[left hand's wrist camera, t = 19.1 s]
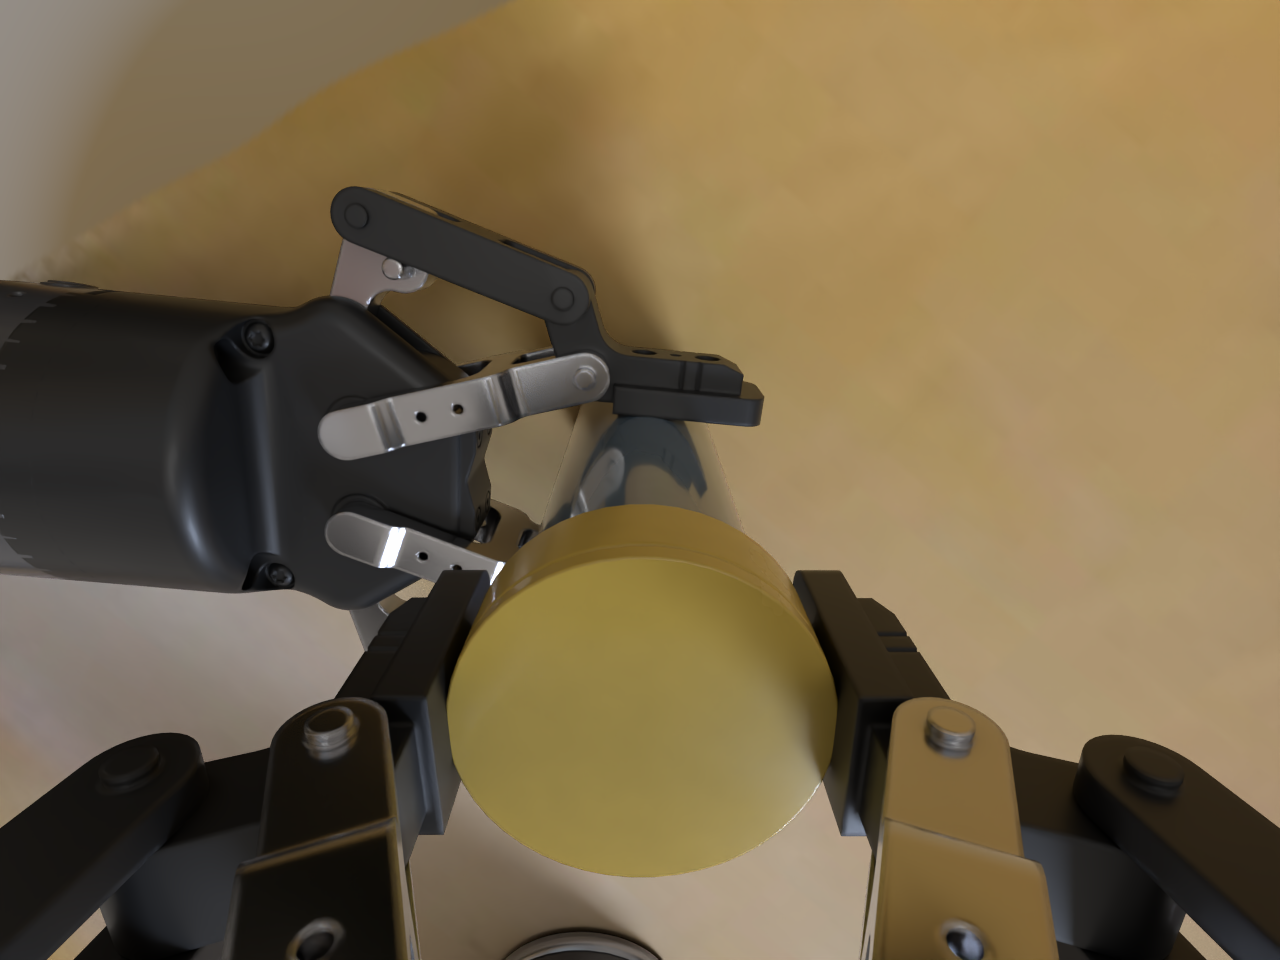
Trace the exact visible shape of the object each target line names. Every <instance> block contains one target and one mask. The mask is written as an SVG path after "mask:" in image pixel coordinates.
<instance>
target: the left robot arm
mask: <svg viewBox="0 0 1280 960" xmlns="http://www.w3.org/2000/svg"><path fill="white" fill-rule="evenodd" d="M490 585H491V584H490V577H489V574H488V572H487V570H444V571H442V573H441V574H440V576H439V578H438V580H437V581H436V583H435V585H434V587H433V588H432V590H431V592H430V594H429V595H428V597H427V598H411V599H409V600H408V601H406V602H405V603H404V604H402V605H401V606H399V607H398V608H396V609H395V610H394V611H392V612H391V613H389V615H388V617H387V618H386V620H385V621H384V623H383V624H382V626H381V627H380V629H379V630H378V635H377V636H375V637H374V638H373V640H372V641H371V643H370V644H369V646H368V650H367V651H365V652H364V654H363V655H362V657H361V658H360V660H359V661H358V663H357V664H356V666H355V667H354V669H353V671H352V672H351V674H350V675H349V677H348V678H347V680H346V681H345V683H344V684H343V686H342V687H341V689H340V691H339V692H338V694H337V695H336V697H335V698H334V699H331V700H328V701H324V702H321V703H318V704H315V705H313V706H310V707H308V708H306V709H304V710H302V711H301V712H299V713H297V714H296V715H294V716H293V717H291V718H290V719H289V720H287V721H286V722H285V723H284V724H283V725H282V726H281V727H280V728H279V730H278V731H277V732H276V734H275V735H274V737H273V739H272V742H271V746H270V748H267V749H263V750H259V751H255V752H251V753H246V754H242V755H237V756H232V757H228V758H223V759H219V760H214V761H210V762H205V763H204V760H203V757H202V753H201V750H200V746H199V744H198V742H197V741H196V740H195V739H193V738H192V737H190V736H188V735H184V734H180V733H159V734H152V735H147V736H143V737H139V738H136V739H133V740H129V741H127V742H124V743H122V744H119V745H117V746H115V747H113V748H110V749H108V750H106V751H104V752H103V753H101V754H99V755H98V756H96V757H94V758H93V759H91V760H90V761H88V762H87V763H85V764H84V765H83V766H81V767H80V768H79V769H77V770H76V771H75V772H74V773H72V774H71V775H70V776H68V777H67V778H66V779H64V780H63V781H62V782H60V783H59V784H58V785H56V786H55V787H54V788H53V789H51V790H50V791H49V792H47V793H46V794H45V795H43V796H42V797H41V798H39V799H38V800H37V801H35V802H34V803H33V804H32V805H30V806H29V807H28V808H26V809H25V810H24V811H22V812H21V813H20V814H18V815H17V816H16V817H14V818H13V819H12V820H11V821H9V822H8V823H7V824H5V825H4V826H3V827H1V828H0V960H47V959H48V958H49V957H50V956H51V955H52V954H53V953H54V952H55V951H56V950H57V949H58V948H59V947H60V946H61V945H62V944H63V943H64V942H65V941H66V940H67V939H68V938H69V937H70V936H71V935H72V934H73V933H74V932H75V931H76V930H77V929H78V928H79V927H80V926H81V925H82V924H83V923H84V922H85V921H86V920H87V919H88V918H89V917H90V916H91V915H92V914H93V913H94V912H95V911H96V910H97V909H98V908H99V907H100V910H101V912H102V915H103V918H104V920H105V923H106V927H105V928H104V929H103V930H102V931H101V932H100V933H99V934H98V935H97V936H96V937H95V938H94V939H93V940H92V941H91V942H90V943H89V944H88V945H87V946H86V947H85V948H84V950H83V951H82V952H81V953H80V954H79V955H78V956H77V957H76V958H75V959H74V960H421V953H420V944H419V935H418V926H417V917H416V908H415V899H414V890H413V881H412V872H411V866H410V859H409V858H410V856H411V853H412V850H413V848H414V845H415V842H416V839H417V837H418V835H444V832H445V828H446V825H447V822H448V819H449V816H450V813H451V810H452V807H453V804H454V801H455V798H456V794H457V791H458V788H459V785H460V782H461V778H460V776H459V774H458V771H457V769H456V767H455V765H454V762H453V758H452V751H451V744H450V735H449V727H448V718H447V707H446V698H447V694H448V689H449V684H450V679H451V676H452V674H453V671H454V668H455V666H456V663H457V660H458V658H459V655H460V653H461V651H462V648H463V646H464V644H465V641H466V639H467V636H468V634H469V632H470V629H471V627H472V625H473V622H474V620H475V618H476V615H477V613H478V610H479V608H480V606H481V603H482V601H483V599H484V596H485V594H486V592H487V590H488V589H489V587H490ZM793 586H794V588H795V589H796V591H797V593H798V595H799V597H800V600H801V602H802V604H803V607H804V609H805V611H806V613H807V616H808V618H809V620H810V623H811V625H812V627H813V630H814V632H815V634H816V637H817V639H818V641H819V644H820V646H821V648H822V650H823V653H824V655H825V657H826V660H827V663H828V665H829V668H830V670H831V673H832V676H833V678H834V683H835V688H836V693H837V698H838V708H837V719H836V727H835V736H834V744H833V751H832V758H831V762H830V765H829V767H828V769H827V771H826V773H825V776H824V778H823V783H824V786H825V789H826V792H827V795H828V798H829V801H830V804H831V807H832V810H833V813H834V816H835V819H836V822H837V825H838V828H839V831H840V834H841V836H867V838H868V841H869V844H870V846H871V849H872V853H871V859H870V866H869V872H868V881H867V890H866V899H865V908H864V917H863V926H862V935H861V944H860V953H859V960H1206V959H1205V958H1204V957H1203V956H1202V955H1201V954H1200V953H1199V952H1198V951H1197V950H1196V948H1195V947H1194V946H1193V945H1192V944H1191V943H1190V942H1189V941H1188V940H1187V939H1186V938H1185V937H1184V936H1183V935H1182V934H1181V933H1180V932H1179V930H1180V927H1181V925H1182V922H1183V920H1184V917H1185V914H1186V913H1187V914H1188V915H1189V916H1190V917H1191V918H1192V919H1193V920H1194V921H1195V922H1196V923H1197V924H1198V925H1199V926H1200V927H1201V928H1202V929H1203V930H1204V931H1205V932H1206V933H1207V934H1208V935H1209V936H1210V937H1211V938H1212V939H1213V940H1214V941H1215V942H1216V943H1217V944H1218V945H1219V946H1220V947H1221V948H1222V949H1223V950H1224V951H1225V952H1226V953H1227V954H1228V955H1229V956H1230V957H1231V958H1232V959H1233V960H1280V828H1279V827H1277V826H1276V825H1275V824H1273V823H1272V822H1271V821H1269V820H1268V819H1267V818H1266V817H1264V816H1263V815H1262V814H1260V813H1259V812H1258V811H1256V810H1255V809H1254V808H1252V807H1251V806H1250V805H1248V804H1247V803H1246V802H1245V801H1243V800H1242V799H1241V798H1239V797H1238V796H1237V795H1235V794H1234V793H1233V792H1231V791H1230V790H1229V789H1228V788H1226V787H1225V786H1224V785H1222V784H1221V783H1220V782H1218V781H1217V780H1216V779H1214V778H1213V777H1212V776H1210V775H1209V774H1208V773H1207V772H1205V771H1204V770H1203V769H1201V768H1200V767H1199V766H1197V765H1196V764H1194V763H1193V762H1191V761H1190V760H1188V759H1187V758H1185V757H1183V756H1182V755H1180V754H1178V753H1176V752H1174V751H1172V750H1170V749H1168V748H1166V747H1163V746H1161V745H1158V744H1156V743H1153V742H1150V741H1147V740H1144V739H1139V738H1135V737H1130V736H1123V735H1103V736H1099V737H1095V738H1093V739H1091V740H1089V741H1088V742H1087V743H1086V744H1085V745H1084V747H1083V750H1082V753H1081V757H1080V761H1079V763H1074V762H1070V761H1065V760H1061V759H1056V758H1052V757H1047V756H1042V755H1038V754H1033V753H1029V752H1025V751H1021V750H1018V749H1015V748H1012V747H1010V746H1009V742H1008V739H1007V737H1006V735H1005V734H1004V732H1003V731H1002V730H1001V728H1000V727H999V726H998V725H997V724H996V723H995V722H994V721H993V720H991V719H990V718H989V717H987V716H986V715H984V714H983V713H981V712H979V711H978V710H976V709H974V708H972V707H970V706H967V705H965V704H962V703H959V702H956V701H952V700H951V699H950V698H949V696H948V695H947V693H946V692H945V690H944V689H943V687H942V686H941V684H940V683H939V681H938V680H937V678H936V677H935V675H934V674H933V672H932V671H931V669H930V667H929V666H928V664H927V663H926V661H925V660H924V658H923V657H922V655H921V654H920V652H917V648H916V646H915V645H914V643H913V642H912V640H911V639H910V637H909V636H907V633H906V631H905V629H904V628H903V626H902V625H901V623H900V622H899V620H898V619H897V617H896V616H895V614H893V613H892V612H891V611H889V610H888V609H886V608H885V607H884V606H882V605H881V604H879V603H878V602H876V601H875V600H874V599H872V598H856V596H855V594H854V593H853V591H852V589H851V587H850V586H849V584H848V582H847V581H846V579H845V577H844V576H843V574H842V572H841V571H838V570H798V571H796V573H795V576H794V581H793Z"/></svg>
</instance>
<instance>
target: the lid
mask: <svg viewBox="0 0 1280 960" xmlns="http://www.w3.org/2000/svg"><path fill="white" fill-rule="evenodd" d="M446 707H447V718H448V727H449V735H450V744H451V751H452V758H453V762H454V765H455V767H456V769H457V771H458V774H459V776H460V778H461V780H462V782H463V784H464V786H465V787H466V789H467V790H468V792H469V793H470V795H471V796H472V798H473V800H474V801H475V802H476V803H477V804H478V806H479V807H480V808H481V809H482V810H483V812H484V813H485V814H486V815H487V816H488V817H489V818H490V819H491V820H492V821H493V822H494V823H495V824H496V825H498V826H499V827H500V828H501V829H502V830H503V831H504V832H506V833H507V834H508V835H510V836H511V837H513V838H514V839H515V840H517V841H518V842H520V843H521V844H523V845H524V846H526V847H528V848H530V849H532V850H533V851H535V852H537V853H539V854H541V855H543V856H545V857H548V858H550V859H552V860H555V861H557V862H559V863H562V864H565V865H568V866H571V867H575V868H578V869H581V870H585V871H590V872H595V873H600V874H605V875H613V876H624V877H660V876H670V875H679V874H684V873H689V872H694V871H699V870H702V869H706V868H709V867H712V866H715V865H719V864H722V863H724V862H727V861H729V860H731V859H734V858H736V857H738V856H741V855H743V854H745V853H747V852H748V851H750V850H752V849H754V848H756V847H757V846H759V845H761V844H763V843H764V842H765V841H767V840H768V839H770V838H771V837H772V836H774V835H775V834H777V833H778V832H779V831H781V830H782V829H783V828H784V827H785V826H786V825H787V824H788V823H789V822H791V821H792V820H793V819H794V818H795V817H796V816H797V815H798V814H799V812H800V811H801V810H802V809H803V808H804V807H805V805H806V804H807V803H808V802H809V801H810V799H811V798H812V796H813V795H814V793H815V792H816V790H817V788H818V787H819V785H820V784H821V782H822V780H823V778H824V776H825V773H826V771H827V769H828V767H829V765H830V762H831V758H832V751H833V744H834V736H835V727H836V719H837V708H838V698H837V693H836V688H835V683H834V678H833V676H832V673H831V670H830V668H829V665H828V663H827V660H826V657H825V655H824V653H823V650H822V648H821V646H820V644H819V641H818V639H817V637H816V634H815V632H814V630H813V627H812V625H811V623H810V620H809V618H808V616H807V613H806V611H805V609H804V607H803V604H802V602H801V600H800V597H799V595H798V593H797V591H796V589H795V588H794V586H793V584H792V582H791V581H790V579H789V577H788V576H787V574H786V573H785V572H784V570H783V569H782V568H781V567H780V565H779V564H778V563H777V562H776V560H775V559H774V558H773V557H772V556H771V555H770V554H769V553H768V552H766V551H765V550H764V549H763V548H762V547H761V546H760V545H759V544H758V543H756V542H755V541H753V540H752V539H751V538H749V537H748V536H747V535H745V534H744V533H742V532H741V531H739V530H737V529H735V528H733V527H732V526H730V525H728V524H726V523H724V522H722V521H720V520H717V519H715V518H712V517H710V516H707V515H704V514H702V513H699V512H695V511H691V510H686V509H682V508H678V507H671V506H663V505H655V504H629V505H621V506H613V507H605V508H601V509H597V510H593V511H589V512H585V513H582V514H579V515H577V516H574V517H572V518H569V519H566V520H564V521H561V522H559V523H558V524H556V525H554V526H552V527H550V528H548V529H547V530H545V531H543V532H541V533H540V534H538V535H537V536H536V537H534V538H533V539H532V540H530V541H529V542H527V543H526V544H525V545H523V546H522V547H521V548H520V549H519V550H518V551H517V552H516V553H515V554H514V555H513V556H512V557H511V558H510V559H509V560H508V561H507V562H506V564H505V565H504V566H503V567H502V569H501V570H500V571H499V573H498V574H497V575H496V576H495V578H494V580H493V582H492V583H491V585H490V587H489V589H488V590H487V592H486V594H485V596H484V599H483V601H482V603H481V606H480V608H479V610H478V613H477V615H476V618H475V620H474V622H473V625H472V627H471V629H470V632H469V634H468V636H467V639H466V641H465V644H464V646H463V648H462V651H461V653H460V655H459V658H458V660H457V663H456V666H455V668H454V671H453V674H452V676H451V679H450V684H449V689H448V694H447V698H446Z"/></svg>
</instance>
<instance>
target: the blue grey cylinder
mask: <svg viewBox="0 0 1280 960" xmlns="http://www.w3.org/2000/svg"><path fill="white" fill-rule="evenodd" d="M612 411H613V403H607V402H597V401H594V402H591V403H586V404H581V407H580V410H579V413H578V416H577V419H576V422H575V425H574V428H573V431H572V434H571V437H570V440H569V443H568V446H567V449H566V451H565V454H564V457H563V460H562V463H561V466H560V469H559V472H558V475H557V478H556V481H555V484H554V487H553V490H552V493H551V496H550V499H549V502H548V505H547V508H546V511H545V514H544V517H543V520H542V523H541V526H540V529H539V532H538V534H540V533H541V532H543V531H545V530H547V529H548V528H550V527H552V526H554V525H556V524H558V523H559V522H561V521H564V520H566V519H569V518H572V517H574V516H577V515H579V514H582V513H585V512H589V511H593V510H597V509H601V508H605V507H613V506H621V505H629V504H655V505H663V506H671V507H678V508H682V509H686V510H691V511H695V512H699V513H702V514H704V515H707V516H710V517H712V518H715V519H717V520H720V521H722V522H724V523H726V524H728V525H730V526H732V527H733V528H735V529H737V530H739V531H741V532H742V533H744V530H743V527H742V524H741V521H740V518H739V515H738V512H737V509H736V506H735V504H734V501H733V498H732V495H731V492H730V489H729V486H728V483H727V480H726V477H725V474H724V472H723V469H722V466H721V463H720V460H719V457H718V454H717V451H716V448H715V445H714V442H713V439H712V437H711V434H710V431H709V428H708V425H707V423H702V422H691V421H680V420H669V419H660V418H654V417H637V416H626V415H615V414H612ZM744 534H745V533H744Z"/></svg>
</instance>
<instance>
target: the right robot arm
mask: <svg viewBox="0 0 1280 960" xmlns="http://www.w3.org/2000/svg"><path fill="white" fill-rule="evenodd" d="M330 214H331V220H332V223H333V225H334V227H335V229H336V231H337V232H338V233H339V235H340V236H341V237H343V241H342V245H341V249H340V253H339V258H338V262H337V266H336V270H335V275H334V279H333V283H332V288H331V292H330V296H323V297H318V298H315V299H312V300H310V301H308V302H307V303H305V304H303V305H301V306H298V307H276V306H266V305H255V304H245V303H235V302H225V301H214V300H204V299H194V298H183V297H173V296H163V295H152V294H141V293H131V292H121V291H112V290H101V289H98V287H94V286H90V285H85V284H80V283H73V282H66V281H55V280H48V282H40V283H30V282H19V281H5V280H0V574H4V575H16V576H28V577H40V578H53V579H65V580H77V581H89V582H101V583H113V584H125V585H137V586H148V587H160V588H172V589H184V590H196V591H207V592H219V593H249V592H259V591H268V590H280V589H291V590H297V591H300V592H304V593H306V594H309V595H311V596H313V597H315V598H318V599H319V600H321V601H323V602H325V603H326V604H328V605H330V606H333V607H335V608H338V609H343V610H349V611H350V614H351V616H352V619H353V622H354V624H355V627H356V629H357V632H358V635H359V637H360V640H361V642H362V645H363V648H364V650H365V651H367V650H368V646H369V644H370V643H371V641H372V640H373V638H374V637H375V636H377V635H378V630H379V629H380V627H381V626H382V624H383V623H384V621H385V620H386V618H387V617H388V615H389V613H391V612H392V611H394V610H395V609H396V608H398V607H399V606H401V605H402V604H404V603H405V602H406V601H405V600H402V599H400V598H399V597H397V596H396V595H395V593H396V592H398V591H400V590H402V589H404V588H405V587H407V586H409V585H411V584H413V583H414V582H416V581H418V580H420V579H422V578H423V579H426V580H429V581H431V582H434V583H436V581H437V580H438V578H439V576H440V574H441V573H442V571H444V570H487V572H488V574H489V577H490V584H491V583H492V582H493V580H494V578H495V576H496V575H497V574H498V573H499V571H500V570H501V569H502V567H503V566H504V565H505V564H506V562H507V561H508V560H509V559H510V558H511V557H512V556H513V555H514V554H515V553H516V552H517V551H518V550H519V549H520V548H521V547H522V546H523V545H525V544H526V543H527V542H529V541H530V540H532V539H533V538H534V537H536V536H537V535H538V532H539V529H540V525H538V524H536V523H534V522H532V521H531V520H530V519H529V517H528V516H527V515H526V514H525V513H524V512H522V511H521V510H518V509H516V508H514V507H511V506H508V505H506V504H503V503H501V502H498V501H495V500H493V499H490V498H491V484H490V480H489V476H488V472H487V468H486V464H485V460H484V456H485V453H486V450H487V446H488V443H489V440H490V437H491V433H492V428H495V427H499V426H503V425H506V424H509V423H512V422H514V421H516V420H518V419H520V418H523V417H526V416H529V415H534V414H538V413H543V412H548V411H553V410H557V409H562V408H567V407H572V406H576V405H581V404H586V403H591V402H594V401H597V402H607V403H613V411H612V414H615V415H626V416H637V417H654V418H660V419H669V420H680V421H691V422H702V423H713V424H723V425H734V426H746V427H753V426H758V425H760V421H761V414H762V408H763V402H764V396H763V394H762V393H761V392H760V390H759V389H758V388H757V386H756V385H754V384H752V383H748V382H744V381H743V373H742V372H741V371H740V369H739V368H738V366H737V365H736V364H735V363H733V362H731V361H729V360H727V359H725V358H723V357H721V356H719V355H714V354H704V353H693V352H680V351H672V350H662V349H651V348H641V347H631V346H625V345H622V344H620V343H618V342H616V341H615V340H613V339H612V338H611V337H610V336H609V335H608V333H607V332H606V330H605V328H604V325H603V323H602V319H601V315H600V312H599V308H598V304H597V301H596V297H595V293H596V287H595V283H594V280H593V278H592V277H591V275H590V274H589V273H588V272H587V271H586V270H584V269H582V268H580V267H578V266H575V265H573V264H571V263H568V262H566V261H563V260H561V259H558V258H556V257H554V256H551V255H549V254H546V253H544V252H541V251H539V250H537V249H534V248H532V247H529V246H527V245H524V244H522V243H519V242H517V241H515V240H512V239H510V238H507V237H505V236H502V235H500V234H498V233H495V232H493V231H490V230H488V229H485V228H483V227H481V226H478V225H476V224H473V223H471V222H468V221H466V220H464V219H461V218H459V217H456V216H454V215H451V214H449V213H446V212H444V211H442V210H439V209H437V208H434V207H432V206H429V205H427V204H425V203H422V202H420V201H417V200H415V199H412V198H410V197H408V196H405V195H403V194H400V193H396V192H390V191H385V190H379V189H372V188H363V187H356V186H353V187H347V188H344V189H342V190H341V191H339V192H338V193H337V194H336V196H335V197H334V199H333V201H332V204H331V210H330ZM437 277H438V278H441V279H443V280H446V281H448V282H451V283H453V284H456V285H458V286H461V287H463V288H466V289H468V290H471V291H473V292H476V293H478V294H481V295H483V296H486V297H488V298H491V299H493V300H496V301H498V302H501V303H503V304H506V305H508V306H511V307H513V308H516V309H519V310H521V311H524V312H526V313H529V314H531V315H534V316H536V317H539V318H541V319H544V320H545V324H546V327H547V330H548V334H549V337H550V340H551V344H552V346H548V347H543V348H539V349H534V350H529V351H514V352H509V353H504V354H500V355H495V356H491V357H486V358H482V359H477V360H472V361H468V362H463V363H459V364H454V363H453V362H451V361H450V360H449V359H448V358H447V357H445V356H444V355H443V354H442V353H440V352H439V351H438V350H437V349H435V348H434V347H433V346H432V345H431V344H429V343H428V342H427V341H426V340H424V339H423V338H422V337H421V336H419V335H418V334H417V333H416V332H415V331H413V330H412V329H411V328H410V327H408V326H407V325H406V324H405V323H403V322H402V321H401V320H400V319H399V318H397V317H396V316H395V315H394V314H392V313H391V312H390V311H389V310H387V309H386V308H385V307H384V306H383V305H381V301H382V299H383V298H384V296H385V295H386V294H387V293H388V292H389V291H395V292H400V293H412V292H416V291H419V290H423V289H426V288H428V287H430V286H431V285H432V284H433V283H434V282H435V280H436V279H437ZM474 540H477V541H479V542H481V543H475V542H473V541H474ZM505 960H658V959H657V958H656V957H655V956H654V955H653V954H651V953H650V952H649V951H647V950H646V949H644V948H642V947H641V946H639V945H637V944H635V943H632V942H630V941H628V940H625V939H622V938H619V937H615V936H611V935H607V934H601V933H593V932H568V933H560V934H555V935H550V936H546V937H543V938H540V939H537V940H534V941H532V942H530V943H527V944H526V945H524V946H522V947H520V948H519V949H517V950H516V951H514V952H513V953H512V954H510V955H509V956H508V957H507V958H506V959H505Z"/></svg>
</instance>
